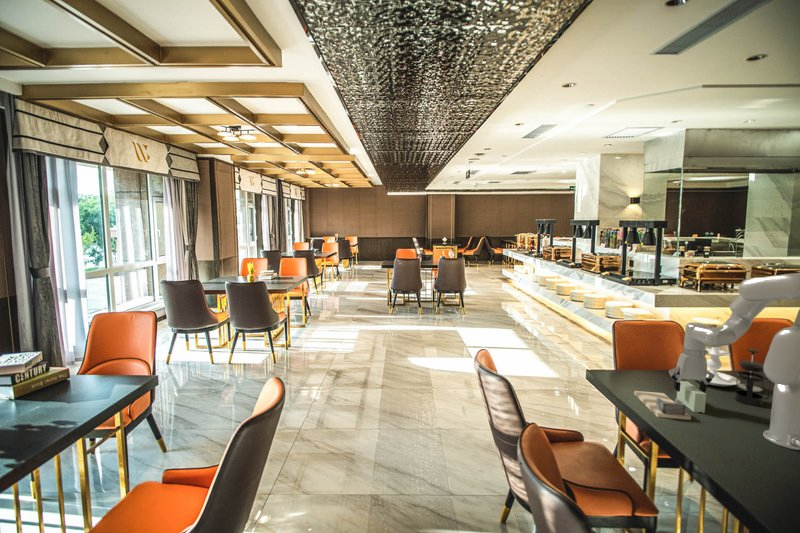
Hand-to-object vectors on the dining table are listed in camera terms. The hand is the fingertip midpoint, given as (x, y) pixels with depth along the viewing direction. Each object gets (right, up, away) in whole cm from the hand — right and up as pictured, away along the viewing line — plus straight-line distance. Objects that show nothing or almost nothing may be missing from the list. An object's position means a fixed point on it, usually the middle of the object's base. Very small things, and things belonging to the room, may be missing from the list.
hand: (689, 391), depth 174 cm
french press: (+29, -6, +4) cm, 30 cm away
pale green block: (0, -6, 0) cm, 6 cm away
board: (-13, -6, -1) cm, 14 cm away
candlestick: (+31, -4, +28) cm, 42 cm away
